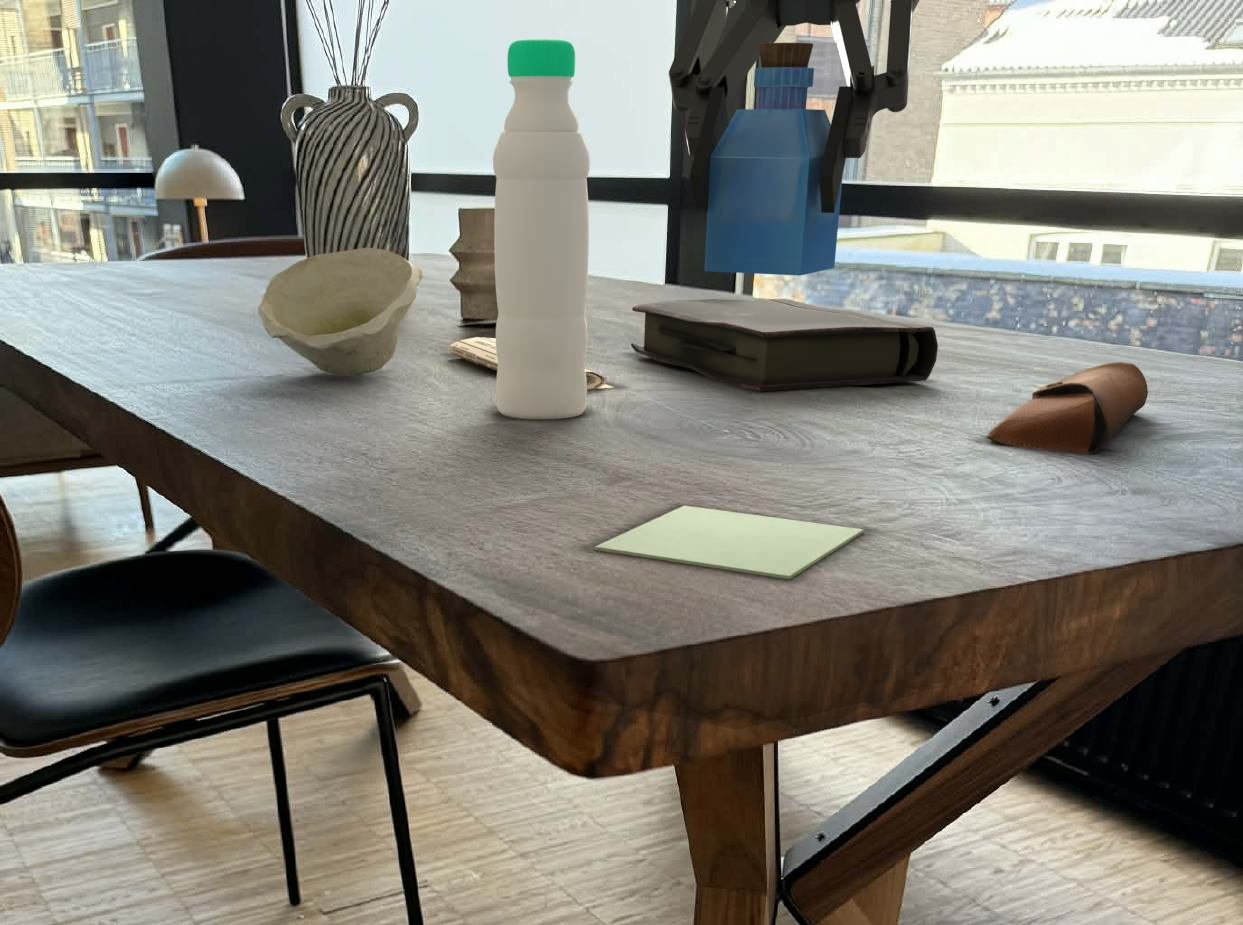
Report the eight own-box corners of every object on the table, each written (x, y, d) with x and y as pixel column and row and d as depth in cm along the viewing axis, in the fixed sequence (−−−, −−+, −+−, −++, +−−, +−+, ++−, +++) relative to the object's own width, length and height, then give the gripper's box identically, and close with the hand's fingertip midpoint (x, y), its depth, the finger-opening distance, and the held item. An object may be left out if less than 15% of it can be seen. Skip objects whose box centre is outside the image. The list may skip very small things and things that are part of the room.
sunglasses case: (1033, 401, 115) (1090, 327, 111) (1102, 455, 114) (1163, 383, 110) (981, 439, 101) (1045, 357, 97) (1060, 501, 101) (1127, 420, 96)
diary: (787, 348, 147) (791, 295, 144) (934, 383, 127) (942, 322, 124) (623, 356, 141) (624, 301, 138) (750, 396, 120) (755, 331, 118)
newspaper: (449, 358, 139) (448, 338, 138) (516, 354, 142) (516, 335, 141) (540, 395, 120) (540, 372, 119) (617, 390, 123) (617, 368, 122)
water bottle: (515, 425, 108) (512, 36, 96) (483, 410, 114) (477, 41, 102) (600, 419, 110) (608, 39, 98) (565, 405, 116) (568, 43, 104)
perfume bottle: (799, 275, 86) (818, 40, 80) (704, 271, 88) (716, 43, 82) (834, 268, 90) (854, 45, 84) (742, 264, 93) (756, 47, 87)
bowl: (232, 379, 127) (219, 255, 122) (314, 359, 138) (305, 244, 134) (380, 390, 122) (374, 261, 117) (453, 368, 133) (449, 250, 128)
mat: (863, 536, 79) (864, 529, 79) (789, 584, 71) (789, 576, 71) (683, 512, 84) (684, 505, 84) (594, 554, 76) (594, 546, 76)
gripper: (991, -55, 91) (932, 245, 85) (685, -45, 96) (611, 237, 91) (999, -175, 84) (935, 144, 78) (669, -156, 89) (588, 143, 84)
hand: (762, 194), depth 84 cm, fingers closed on perfume bottle, 7 cm apart
